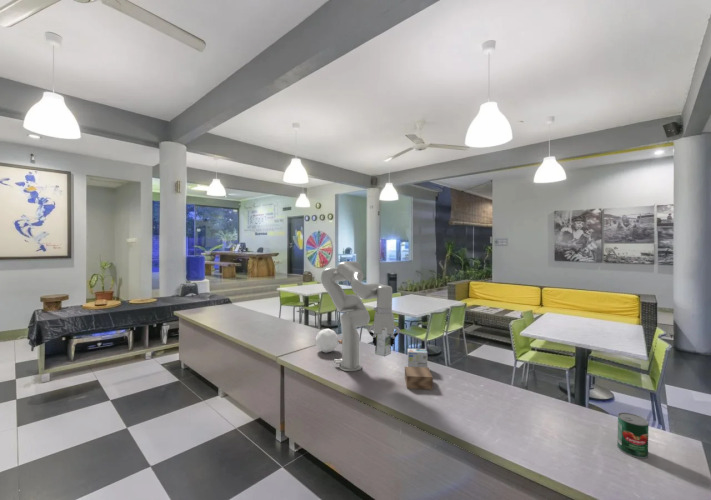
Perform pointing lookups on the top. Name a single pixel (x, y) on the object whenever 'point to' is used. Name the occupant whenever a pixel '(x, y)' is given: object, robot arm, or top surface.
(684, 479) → the top surface
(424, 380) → the walnut block
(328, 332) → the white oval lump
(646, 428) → the canned tomato
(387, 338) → the syrup box
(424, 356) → the light bulb box
